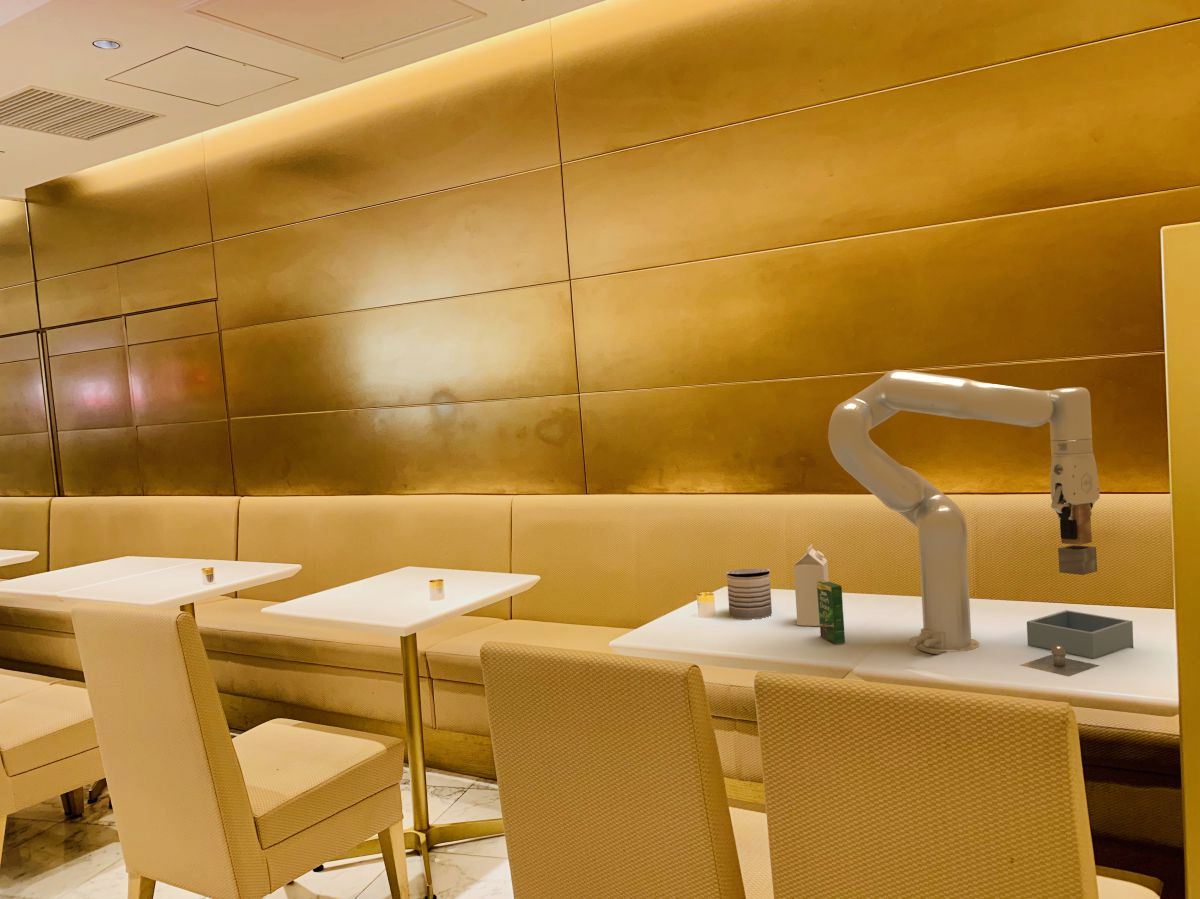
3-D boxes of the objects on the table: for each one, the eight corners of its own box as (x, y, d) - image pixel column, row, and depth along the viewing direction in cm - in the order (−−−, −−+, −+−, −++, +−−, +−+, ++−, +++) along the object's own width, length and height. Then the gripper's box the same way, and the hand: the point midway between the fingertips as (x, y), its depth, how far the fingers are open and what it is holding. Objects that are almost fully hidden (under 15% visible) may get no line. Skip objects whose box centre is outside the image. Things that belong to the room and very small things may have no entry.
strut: (1082, 575, 182) (1079, 505, 181) (1059, 572, 186) (1055, 504, 185) (1097, 571, 184) (1093, 503, 184) (1073, 568, 188) (1070, 501, 188)
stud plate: (1069, 681, 167) (1067, 655, 167) (1019, 670, 176) (1018, 645, 175) (1100, 670, 172) (1099, 645, 172) (1050, 659, 181) (1049, 635, 181)
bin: (1093, 664, 176) (1092, 633, 176) (1027, 650, 188) (1026, 621, 188) (1133, 650, 183) (1132, 621, 183) (1067, 637, 195) (1066, 610, 195)
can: (726, 620, 231) (723, 573, 231) (730, 609, 242) (728, 565, 242) (771, 619, 229) (769, 573, 228) (773, 609, 240) (771, 564, 239)
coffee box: (818, 636, 210) (815, 580, 209) (830, 634, 211) (827, 579, 210) (833, 644, 202) (830, 586, 202) (845, 643, 203) (842, 585, 202)
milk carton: (797, 626, 221) (792, 549, 220) (802, 619, 227) (797, 544, 226) (826, 627, 218) (822, 549, 217) (830, 619, 224) (826, 544, 224)
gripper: (1064, 451, 176) (1069, 544, 177) (1113, 444, 185) (1117, 533, 186) (1029, 451, 183) (1033, 541, 184) (1077, 444, 191) (1081, 530, 192)
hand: (1075, 536), depth 185 cm, fingers closed on strut, 4 cm apart
